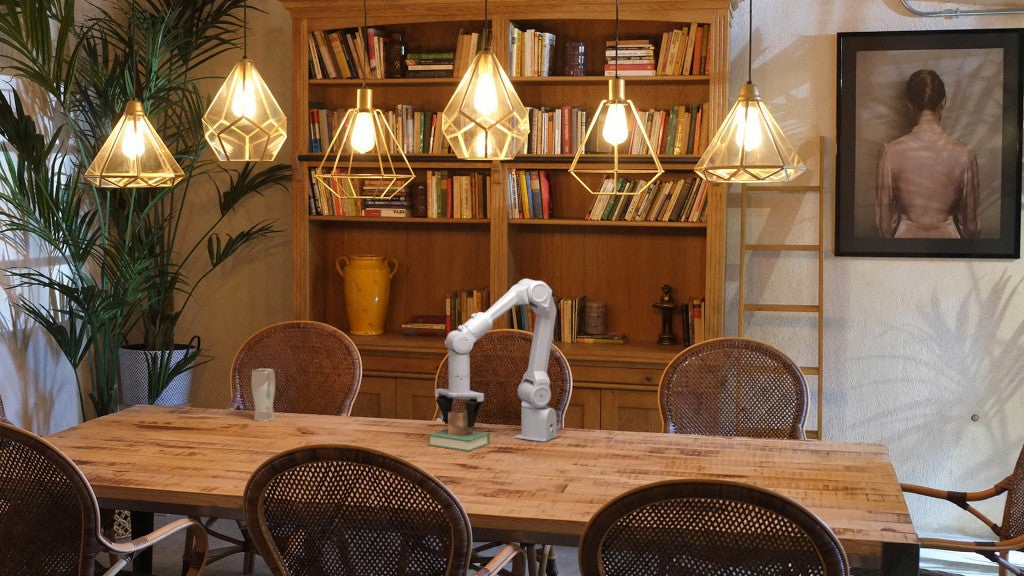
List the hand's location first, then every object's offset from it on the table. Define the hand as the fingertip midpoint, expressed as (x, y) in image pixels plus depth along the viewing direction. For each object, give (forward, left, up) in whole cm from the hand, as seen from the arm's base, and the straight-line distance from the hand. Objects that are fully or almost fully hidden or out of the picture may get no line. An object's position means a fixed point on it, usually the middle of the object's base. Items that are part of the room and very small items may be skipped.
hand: (459, 425), depth 284 cm
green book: (0, 0, -5) cm, 5 cm away
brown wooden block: (0, 0, -2) cm, 2 cm away
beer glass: (+69, +3, -6) cm, 69 cm away
